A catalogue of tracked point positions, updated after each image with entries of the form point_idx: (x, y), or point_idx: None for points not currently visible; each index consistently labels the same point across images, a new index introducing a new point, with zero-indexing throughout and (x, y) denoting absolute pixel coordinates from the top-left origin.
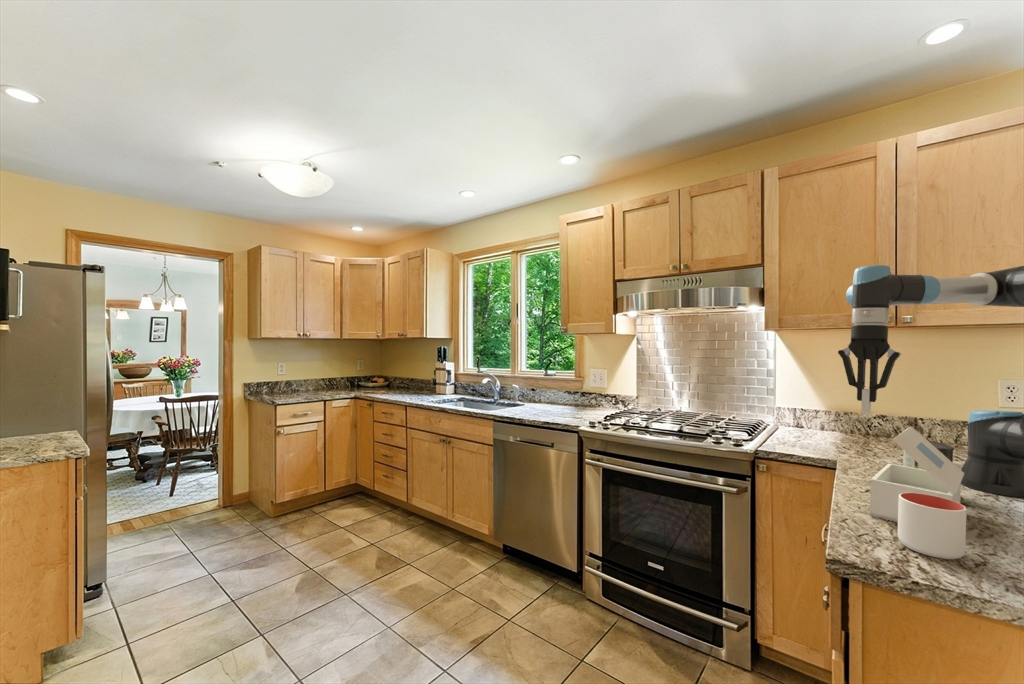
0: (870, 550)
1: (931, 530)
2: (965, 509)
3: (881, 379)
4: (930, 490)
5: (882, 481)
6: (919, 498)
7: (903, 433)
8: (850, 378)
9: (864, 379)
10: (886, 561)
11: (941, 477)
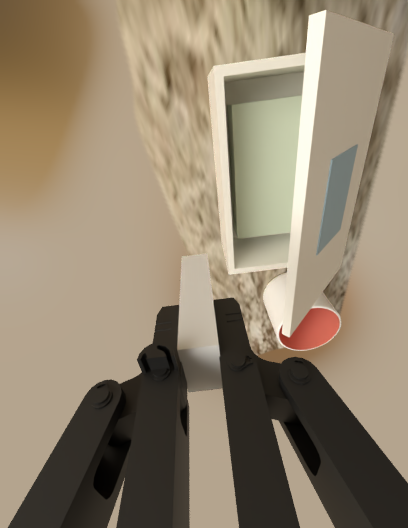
0: (248, 331)
1: (299, 329)
2: (339, 328)
3: (311, 469)
4: (295, 104)
5: (245, 271)
6: None
7: (300, 255)
8: (107, 478)
9: (180, 441)
10: (261, 340)
11: (333, 269)
